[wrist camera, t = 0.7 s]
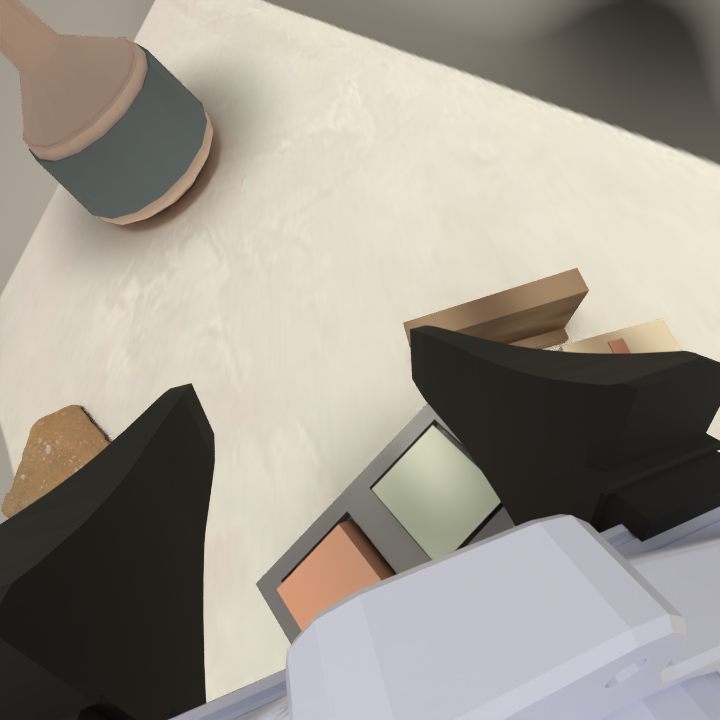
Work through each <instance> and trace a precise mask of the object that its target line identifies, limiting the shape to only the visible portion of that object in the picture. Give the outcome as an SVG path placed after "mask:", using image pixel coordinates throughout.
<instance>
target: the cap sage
mask: <svg viewBox="0 0 720 720" xmlns="http://www.w3.org/2000/svg"><path fill="white" fill-rule="evenodd" d="M372 490H373V492H374V493H375V494H376V495H377V496H378V497H379V499H380V500H381V501H382V502H383V503H384V504H385V506H386V507H387V508H388V509H389V510H390V511H391V513H392V514H393V515H394V516H395V517H396V518H397V519H398V521H399V522H400V523H401V524H402V525H403V526H404V528H405V529H406V530H407V531H408V532H409V533H410V535H411V536H412V537H413V538H414V539H415V540H416V542H417V543H418V544H419V545H420V546H421V547H422V549H423V550H424V551H425V552H426V553H427V554H428V556H429V557H430V558H431V559H432V560H434V559H436V558H439V557H441V556H444V555H446V554H449V553H451V552H454V551H455V550H456V549H457V548H458V547H459V546H460V545H461V544H462V543H463V542H464V541H465V539H466V538H467V537H468V536H469V535H470V534H471V533H472V532H473V531H474V530H475V529H476V528H477V527H478V526H479V525H480V524H481V522H482V521H483V520H484V519H485V518H486V517H487V516H488V515H489V514H490V513H491V512H492V511H493V510H494V509H495V508H496V507H497V505H498V504H499V503H500V502H501V501H500V499H499V498H498V496H497V495H496V493H495V492H494V490H493V488H492V487H491V485H490V484H489V482H488V480H487V479H486V477H485V476H484V474H483V473H482V471H481V470H480V469H479V468H478V467H477V466H476V465H475V464H474V463H473V462H472V461H470V460H469V459H468V458H467V457H466V456H465V455H464V454H463V453H462V452H461V451H460V450H459V449H458V448H457V447H456V446H454V445H453V444H452V443H451V442H450V441H449V440H448V439H447V438H446V437H445V436H444V435H443V434H442V433H441V432H440V431H439V430H437V429H436V428H435V427H434V426H433V425H432V426H431V427H430V428H429V430H428V431H427V432H426V433H425V434H424V435H423V436H422V437H421V438H420V439H419V440H418V441H417V442H416V443H415V444H414V445H413V446H412V447H411V448H410V450H409V451H408V452H407V453H406V454H405V455H404V456H403V457H402V458H401V459H400V460H399V461H398V462H397V463H396V464H395V465H394V466H393V467H392V468H391V470H390V471H389V472H388V473H387V474H386V475H385V476H384V477H383V478H382V479H381V480H380V481H379V482H378V483H377V484H376V485H375V486H374V487H373V488H372Z"/></svg>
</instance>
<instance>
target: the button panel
mask: <svg viewBox="0 0 720 720" xmlns="http://www.w3.org/2000/svg"><path fill="white" fill-rule="evenodd" d="M432 425H433V426H434V427H435V428H436V429H437V430H439V431H440V432H441V433H442V434H443V435H444V436H445V437H446V438H447V439H448V440H449V441H450V442H451V443H452V444H453V445H454V446H456V447H457V448H458V449H459V450H460V451H461V452H462V453H463V454H464V455H465V456H466V457H467V458H468V459H469V460H470V461H472V462H473V463H474V464H475V465H476V466H477V467H478V465H477V464H476V462H475V461H474V459H473V458H472V456H471V455H470V453H469V452H468V451H467V450H466V448H465V447H464V446H463V444H462V443H461V442H460V441H459V440H458V438H457V437H456V436H455V435H454V434H453V433H452V431H451V430H450V429H449V428H448V427H447V425H446V424H445V423H444V422H443V421H442V420H441V418H440V417H439V416H438V415H437V414H436V412H435V411H434V410H433V409H432V408H431V406H430V405H429V404H427V405H426V406H425V407H424V408H423V409H422V410H421V411H420V412H419V413H418V414H417V415H416V416H415V417H414V418H413V419H412V420H411V421H410V422H409V423H408V425H407V426H406V427H405V428H404V429H403V430H402V431H401V432H400V433H399V434H398V435H397V436H396V437H395V438H394V439H393V440H392V441H391V442H390V443H389V444H388V446H387V447H386V448H385V449H384V450H383V451H382V452H381V453H380V454H379V455H378V456H377V457H376V458H375V459H374V460H373V461H372V462H371V463H370V464H369V465H368V467H367V468H366V469H365V470H364V471H363V472H362V473H361V474H360V475H359V476H358V477H357V478H356V479H355V480H354V481H353V482H352V483H351V484H350V485H349V487H348V488H347V489H346V490H345V491H344V492H343V493H342V494H341V495H340V496H339V497H338V498H337V499H336V500H335V501H334V502H333V503H332V504H331V505H330V506H329V508H328V509H327V510H326V511H325V512H324V513H323V514H322V515H321V516H320V517H319V518H318V519H317V520H316V521H315V522H314V523H313V524H312V525H311V526H310V527H309V529H308V530H307V531H306V532H305V533H304V534H303V535H302V536H301V537H300V538H299V539H298V540H297V541H296V542H295V543H294V544H293V545H292V546H291V547H290V548H289V550H288V551H287V552H286V553H285V554H284V555H283V556H282V557H281V558H280V559H279V560H278V561H277V562H276V563H275V564H274V565H273V566H272V567H271V568H270V570H269V571H268V572H267V573H266V574H265V575H264V576H263V577H262V578H261V579H260V580H259V581H258V582H257V583H256V585H257V587H258V588H259V590H260V592H261V594H262V595H263V597H264V599H265V600H266V602H267V604H268V605H269V607H270V609H271V611H272V612H273V614H274V616H275V617H276V619H277V621H278V623H279V624H280V626H281V628H282V629H283V631H284V633H285V635H286V636H287V638H288V640H289V641H290V643H291V644H292V643H293V641H294V640H295V638H296V637H297V636H298V635H299V634H300V633H301V632H302V630H301V629H300V627H299V626H298V624H297V622H296V621H295V619H294V617H293V616H292V614H291V612H290V611H289V609H288V607H287V606H286V604H285V603H284V601H283V599H282V598H281V596H280V594H279V593H278V591H277V588H278V587H279V586H280V585H281V584H282V583H283V582H284V581H285V580H286V579H287V578H288V577H289V576H290V575H291V574H292V573H293V572H294V571H295V570H296V568H297V567H298V566H299V565H300V564H301V563H302V562H303V561H304V560H305V559H306V558H307V557H308V556H309V555H310V554H311V553H312V552H313V551H314V550H315V548H316V547H317V546H318V545H319V544H320V543H321V542H322V541H323V540H324V539H325V538H326V537H327V536H328V535H329V534H330V533H331V532H332V531H333V530H334V528H335V527H336V526H337V525H338V524H340V523H343V522H345V521H348V520H350V519H352V520H353V521H354V522H355V523H356V525H357V526H358V527H359V528H360V530H361V531H362V532H363V533H364V535H365V536H366V537H367V538H368V540H369V541H370V542H371V544H372V545H373V546H374V547H375V549H376V550H377V551H378V552H379V554H380V555H381V556H382V557H383V559H384V560H385V561H386V563H387V564H388V565H389V566H390V568H391V569H392V570H393V571H394V573H395V574H396V575H397V574H399V573H402V572H404V571H407V570H409V569H412V568H414V567H417V566H419V565H422V564H424V563H427V562H429V561H432V559H431V558H430V557H429V556H428V554H427V553H426V552H425V551H424V550H423V549H422V547H421V546H420V545H419V544H418V543H417V542H416V540H415V539H414V538H413V537H412V536H411V535H410V533H409V532H408V531H407V530H406V529H405V528H404V526H403V525H402V524H401V523H400V522H399V521H398V519H397V518H396V517H395V516H394V515H393V514H392V513H391V511H390V510H389V509H388V508H387V507H386V506H385V504H384V503H383V502H382V501H381V500H380V499H379V497H378V496H377V495H376V494H375V493H374V492H373V490H372V488H373V487H374V486H375V485H376V484H377V483H378V482H379V481H380V480H381V479H382V478H383V477H384V476H385V475H386V474H387V473H388V472H389V471H390V470H391V468H392V467H393V466H394V465H395V464H396V463H397V462H398V461H399V460H400V459H401V458H402V457H403V456H404V455H405V454H406V453H407V452H408V451H409V450H410V448H411V447H412V446H413V445H414V444H415V443H416V442H417V441H418V440H419V439H420V438H421V437H422V436H423V435H424V434H425V433H426V432H427V431H428V430H429V428H430V427H431V426H432ZM478 468H479V467H478ZM479 469H480V468H479ZM514 526H515V525H514V523H513V521H512V519H511V518H510V516H509V514H508V513H507V511H506V509H505V508H504V506H503V504H502V503H501V502H500V503H499V504H498V505H497V507H496V508H495V509H494V510H493V511H492V512H491V513H490V514H489V515H488V516H487V517H486V518H485V519H484V520H483V521H482V522H481V524H480V525H479V526H478V527H477V528H476V529H475V530H474V531H473V532H472V533H471V534H470V535H469V536H468V537H467V538H466V539H465V541H464V542H463V543H462V544H461V545H460V546H459V547H458V548H457V549H456V550H459V549H461V548H464V547H466V546H469V545H471V544H474V543H476V542H479V541H481V540H484V539H486V538H489V537H491V536H494V535H496V534H499V533H501V532H503V531H506V530H508V529H511V528H513V527H514ZM456 550H455V551H456Z"/></svg>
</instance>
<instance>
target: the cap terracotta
mask: <svg viewBox="0 0 720 720" xmlns="http://www.w3.org/2000/svg"><path fill="white" fill-rule="evenodd" d="M394 575H396V574H395V573H394V571H393V570H392V569H391V568H390V566H389V565H388V564H387V563H386V561H385V560H384V559H383V557H382V556H381V555H380V554H379V552H378V551H377V550H376V549H375V547H374V546H373V545H372V544H371V542H370V541H369V540H368V538H367V537H366V536H365V535H364V533H363V532H362V531H361V530H360V528H359V527H358V526H357V525H356V523H355V522H354V521H353V520H352V519H350V520H348V521H345V522H343V523H340V524H338V525H337V526H336V527H335V528H334V530H333V531H332V532H331V533H330V534H329V535H328V536H327V537H326V538H325V539H324V540H323V541H322V542H321V543H320V544H319V545H318V546H317V547H316V548H315V550H314V551H313V552H312V553H311V554H310V555H309V556H308V557H307V558H306V559H305V560H304V561H303V562H302V563H301V564H300V565H299V566H298V567H297V568H296V570H295V571H294V572H293V573H292V574H291V575H290V576H289V577H288V578H287V579H286V580H285V581H284V582H283V583H282V584H281V585H280V586H279V587H278V588H277V591H278V593H279V594H280V596H281V598H282V599H283V601H284V603H285V604H286V606H287V607H288V609H289V611H290V612H291V614H292V616H293V617H294V619H295V621H296V622H297V624H298V626H299V627H300V629H301V630H302V631H303V630H304V628H305V627H306V626H307V625H308V624H309V623H310V622H311V621H312V620H313V618H314V617H315V616H316V615H317V614H318V613H319V612H320V611H322V610H324V609H326V608H327V607H329V606H331V605H333V604H334V603H336V602H338V601H340V600H341V599H343V598H345V597H347V596H349V595H350V594H352V593H354V592H356V591H357V590H360V589H362V588H365V587H367V586H370V585H372V584H374V583H377V582H379V581H382V580H384V579H387V578H389V577H392V576H394Z"/></svg>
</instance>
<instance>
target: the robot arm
mask: <svg viewBox="0 0 720 720" xmlns="http://www.w3.org/2000/svg"><path fill="white" fill-rule="evenodd" d="M410 343H411V363H412V379H413V381H414V382H415V384H416V386H417V388H418V389H419V391H420V393H421V394H422V396H423V397H424V399H425V400H426V401H427V403H428V404H429V405H430V406H431V408H432V409H433V410H434V411H435V412H436V414H437V415H438V416H439V417H440V418H441V420H442V421H443V422H444V423H445V424H446V425H447V427H448V428H449V429H450V430H451V431H452V433H453V434H454V435H455V436H456V437H457V438H458V440H459V441H460V442H461V443H462V444H463V446H464V447H465V448H466V450H467V451H468V452H469V453H470V455H471V456H472V458H473V459H474V461H475V462H476V464H477V465H478V467H479V468H480V470H481V471H482V473H483V474H484V476H485V477H486V479H487V480H488V482H489V484H490V485H491V487H492V488H493V490H494V492H495V493H496V495H497V496H498V498H499V499H500V501H501V503H502V504H503V506H504V508H505V509H506V511H507V513H508V514H509V516H510V518H511V519H512V521H513V523H514V525H515V526H516V527H513V528H511V529H508V530H506V531H503V532H501V533H499V534H496V535H494V536H491V537H489V538H486V539H484V540H481V541H479V542H476V543H474V544H471V545H469V546H466V547H464V548H461V549H459V550H456V551H454V552H451V553H449V554H446V555H444V556H441V557H439V558H436V559H434V560H432V561H429V562H427V563H424V564H422V565H419V566H417V567H414V568H412V569H409V570H407V571H404V572H402V573H399V574H397V575H394V576H392V577H389V578H387V579H384V580H382V581H379V582H377V583H374V584H372V585H370V586H367V587H365V588H362V589H360V590H357V591H356V592H354V593H352V594H350V595H349V596H347V597H345V598H343V599H341V600H340V601H338V602H336V603H334V604H333V605H331V606H329V607H327V608H326V609H324V610H322V611H320V612H319V613H318V614H317V615H316V616H315V617H314V618H313V620H312V621H311V622H310V623H309V624H308V625H307V626H306V627H305V628H304V630H303V631H302V632H301V633H300V634H299V635H298V636H297V637H296V638H295V640H294V641H293V643H292V644H291V646H290V647H289V649H288V651H287V659H286V669H284V670H282V671H280V672H277V673H275V674H273V675H270V676H268V677H266V678H263V679H261V680H259V681H256V682H254V683H252V684H250V685H247V686H245V687H243V688H240V689H238V690H236V691H233V692H231V693H229V694H226V695H224V696H222V697H220V698H217V699H215V700H213V701H210V702H208V703H206V690H205V668H204V625H203V576H204V542H205V531H206V523H207V516H208V509H209V502H210V494H211V487H212V480H213V472H214V464H215V444H214V433H213V430H212V428H211V426H210V424H209V421H208V419H207V417H206V415H205V412H204V410H203V408H202V406H201V403H200V401H199V399H198V397H197V395H196V392H195V390H194V388H193V386H192V383H190V384H186V385H182V386H178V387H174V388H170V389H169V390H168V391H166V392H165V393H164V394H163V395H162V396H160V397H159V398H158V399H157V400H156V401H155V402H154V403H153V404H152V405H151V406H150V407H149V408H148V409H147V410H146V411H145V412H144V413H143V414H142V415H141V416H139V417H138V418H137V419H136V420H135V421H134V422H133V423H132V424H131V425H130V426H129V427H128V428H127V429H126V430H125V431H124V432H123V433H121V434H120V435H119V436H118V437H117V438H116V439H115V440H113V441H112V442H111V443H110V444H109V445H108V446H107V447H106V448H104V449H103V450H102V451H101V452H100V453H99V454H98V455H96V456H95V457H94V458H93V459H92V460H90V461H89V462H88V463H87V464H85V465H84V466H83V467H82V468H80V469H79V470H78V471H77V472H75V473H74V474H73V475H71V476H70V477H69V478H67V479H66V480H65V481H63V482H62V483H61V484H59V485H58V486H57V487H55V488H54V489H52V490H51V491H50V492H48V493H47V494H45V495H44V496H42V497H41V498H39V499H38V500H36V501H35V502H33V503H32V504H30V505H29V506H27V507H26V508H24V509H23V510H21V511H20V512H18V513H17V514H15V515H14V516H12V517H11V518H9V519H8V520H6V521H5V522H3V523H2V524H0V720H720V452H718V451H717V450H720V441H719V440H718V439H716V438H714V437H712V436H710V435H708V434H707V433H706V432H707V430H708V428H709V426H710V424H711V422H712V420H713V418H714V416H715V414H716V412H717V411H718V409H719V407H720V362H717V361H715V360H712V359H709V358H707V357H704V356H701V355H699V354H696V353H693V352H688V351H670V352H650V353H578V352H563V351H551V350H542V349H535V348H528V347H521V346H515V345H509V344H504V343H500V342H495V341H490V340H486V339H482V338H478V337H474V336H470V335H466V334H463V333H459V332H455V331H451V330H448V329H444V328H440V327H435V326H429V325H424V326H420V327H416V328H412V329H410Z"/></svg>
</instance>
